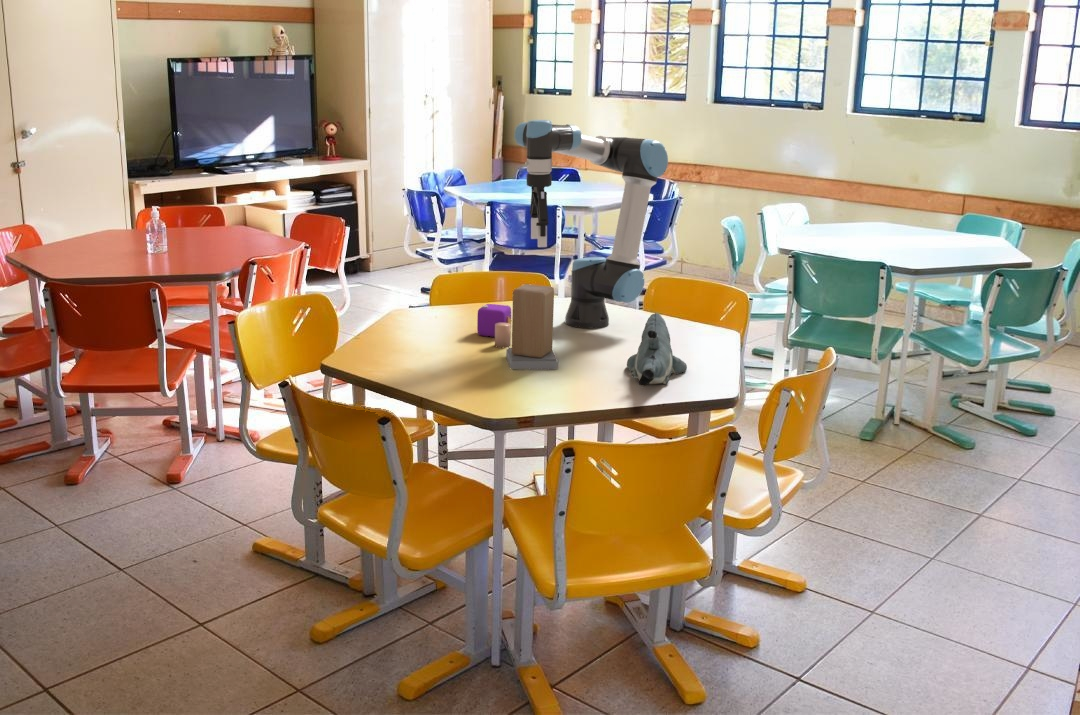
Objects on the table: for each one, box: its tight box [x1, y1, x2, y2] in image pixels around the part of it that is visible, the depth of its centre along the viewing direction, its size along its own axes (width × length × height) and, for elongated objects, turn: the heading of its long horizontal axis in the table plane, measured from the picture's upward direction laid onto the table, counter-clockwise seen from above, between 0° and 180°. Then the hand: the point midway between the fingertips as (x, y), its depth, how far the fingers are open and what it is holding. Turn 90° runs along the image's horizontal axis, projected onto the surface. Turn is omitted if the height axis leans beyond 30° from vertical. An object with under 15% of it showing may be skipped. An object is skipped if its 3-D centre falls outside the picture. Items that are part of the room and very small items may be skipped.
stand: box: [505, 347, 559, 370], centre depth 316 cm, size 14×14×3 cm
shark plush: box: [626, 312, 688, 387], centre depth 300 cm, size 18×39×16 cm, turn 158°
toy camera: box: [476, 303, 512, 338], centre depth 348 cm, size 11×14×10 cm
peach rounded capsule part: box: [494, 323, 512, 348], centre depth 333 cm, size 5×5×7 cm
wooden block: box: [511, 283, 555, 358], centre depth 313 cm, size 10×10×20 cm
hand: (538, 242), depth 322 cm, fingers open, 13 cm apart
